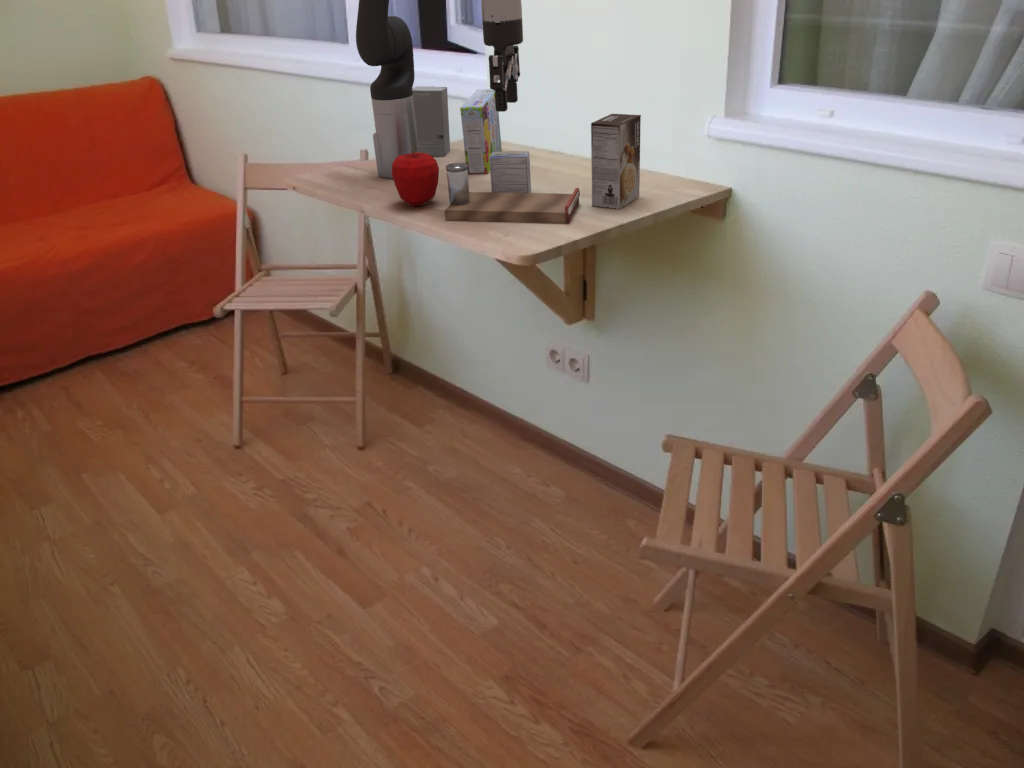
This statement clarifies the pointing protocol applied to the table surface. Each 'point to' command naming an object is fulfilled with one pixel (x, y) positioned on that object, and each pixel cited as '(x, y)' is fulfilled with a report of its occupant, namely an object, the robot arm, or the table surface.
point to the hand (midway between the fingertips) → (507, 106)
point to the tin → (458, 183)
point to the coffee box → (615, 160)
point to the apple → (415, 177)
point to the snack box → (480, 130)
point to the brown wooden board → (516, 207)
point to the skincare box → (432, 119)
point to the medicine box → (510, 172)
